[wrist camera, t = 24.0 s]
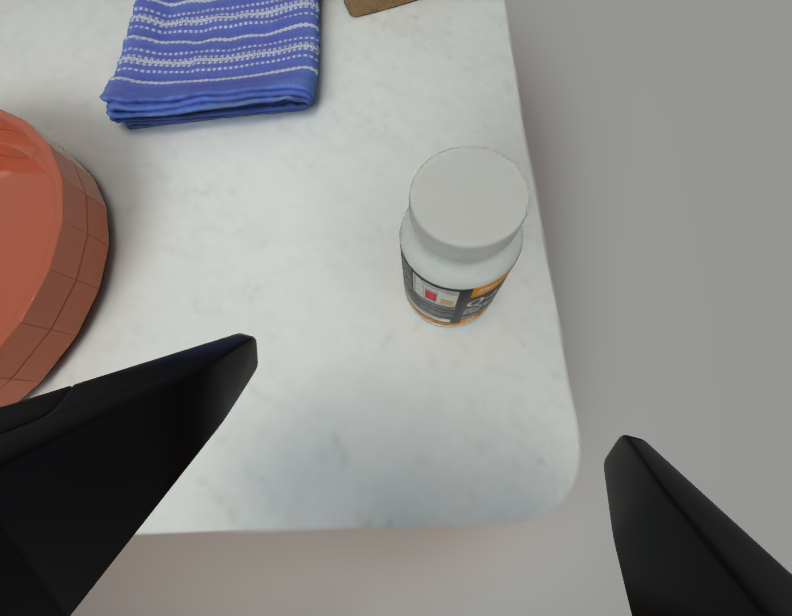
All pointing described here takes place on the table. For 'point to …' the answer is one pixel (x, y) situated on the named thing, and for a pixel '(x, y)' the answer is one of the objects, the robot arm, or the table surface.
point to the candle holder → (371, 5)
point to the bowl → (44, 253)
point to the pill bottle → (461, 233)
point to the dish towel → (214, 61)
